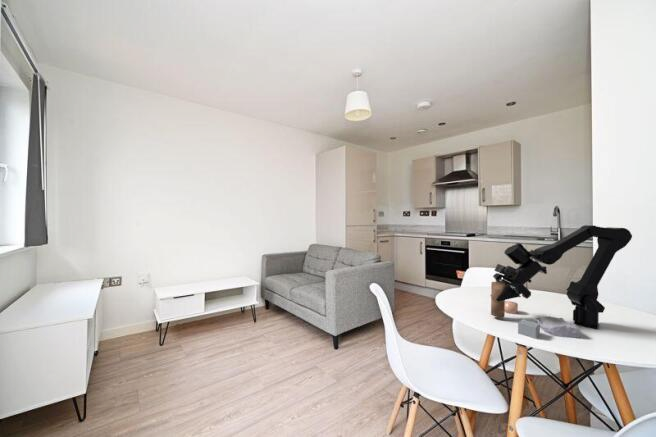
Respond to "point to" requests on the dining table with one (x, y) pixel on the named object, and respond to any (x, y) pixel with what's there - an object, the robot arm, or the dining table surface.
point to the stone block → (558, 327)
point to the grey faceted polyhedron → (529, 328)
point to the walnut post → (496, 306)
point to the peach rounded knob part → (511, 307)
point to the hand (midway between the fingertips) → (494, 298)
